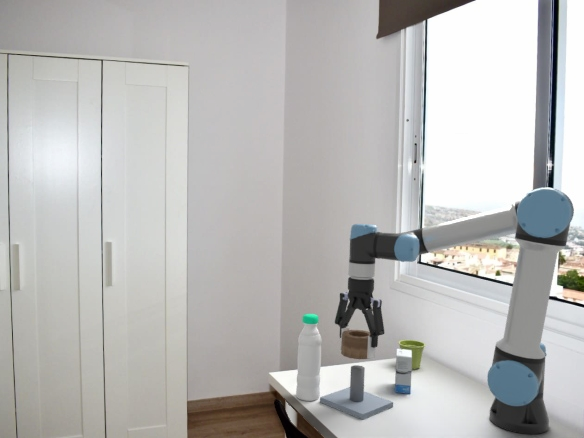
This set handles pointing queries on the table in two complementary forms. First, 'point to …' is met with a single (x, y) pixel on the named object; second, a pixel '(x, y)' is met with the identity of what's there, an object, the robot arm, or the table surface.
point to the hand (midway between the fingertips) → (357, 353)
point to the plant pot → (413, 351)
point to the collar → (355, 344)
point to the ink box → (403, 371)
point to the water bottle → (309, 360)
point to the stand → (356, 397)
